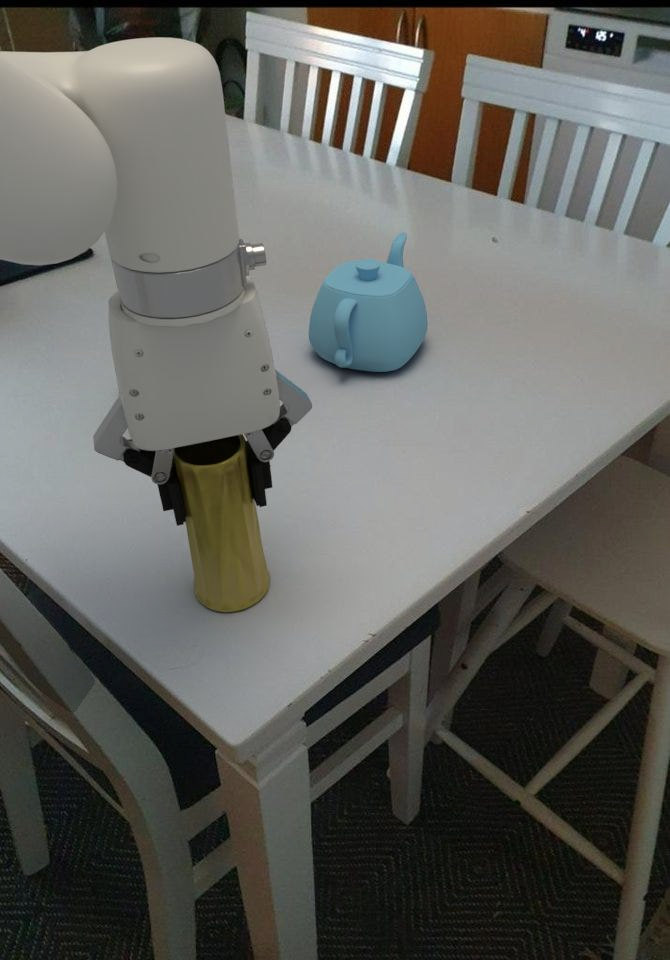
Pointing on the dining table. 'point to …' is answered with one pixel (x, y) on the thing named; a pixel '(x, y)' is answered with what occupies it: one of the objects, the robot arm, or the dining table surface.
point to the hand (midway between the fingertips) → (218, 502)
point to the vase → (222, 523)
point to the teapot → (369, 314)
